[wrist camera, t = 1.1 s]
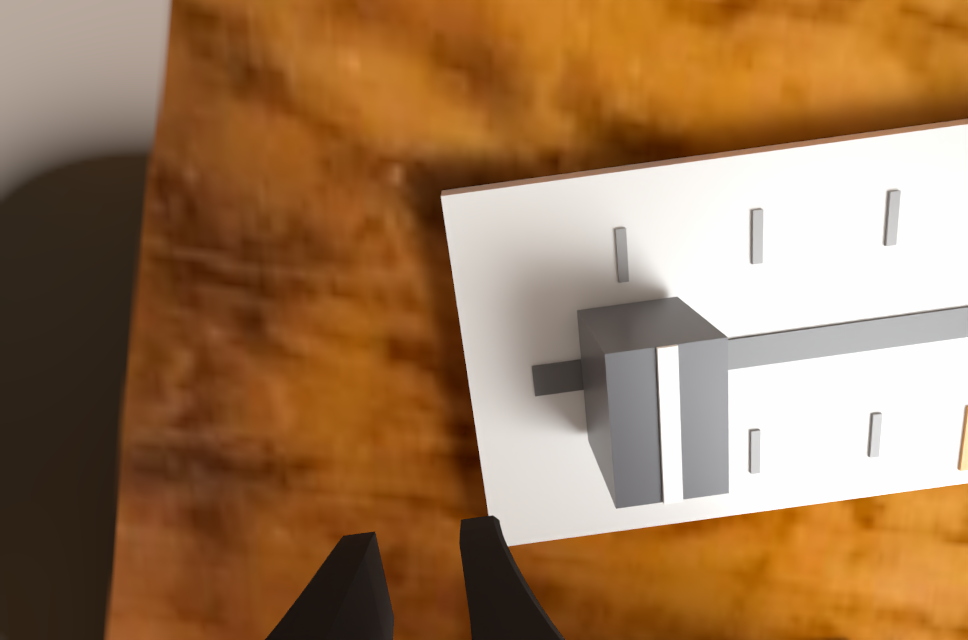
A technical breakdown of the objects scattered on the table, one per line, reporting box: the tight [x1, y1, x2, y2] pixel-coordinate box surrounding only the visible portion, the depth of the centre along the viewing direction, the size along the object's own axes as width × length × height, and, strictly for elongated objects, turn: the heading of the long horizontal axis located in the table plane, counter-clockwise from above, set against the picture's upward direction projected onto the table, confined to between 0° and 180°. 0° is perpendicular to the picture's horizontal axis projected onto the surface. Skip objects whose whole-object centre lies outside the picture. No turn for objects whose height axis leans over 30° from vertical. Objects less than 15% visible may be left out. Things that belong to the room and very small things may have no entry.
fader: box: [577, 297, 729, 509], centre depth 17 cm, size 4×3×4 cm
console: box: [441, 119, 968, 546], centre depth 20 cm, size 12×26×2 cm, turn 97°
